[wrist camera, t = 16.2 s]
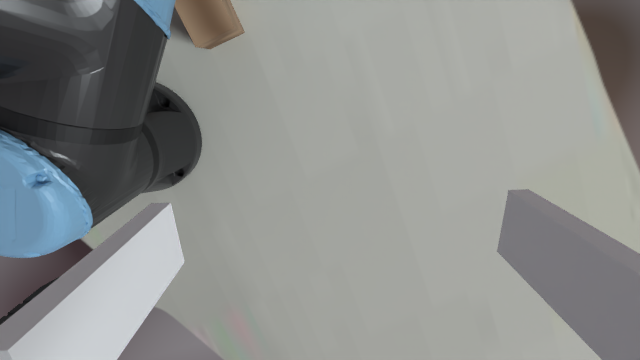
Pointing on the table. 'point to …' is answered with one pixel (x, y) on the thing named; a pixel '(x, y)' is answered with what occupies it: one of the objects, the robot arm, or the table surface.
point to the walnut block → (209, 21)
